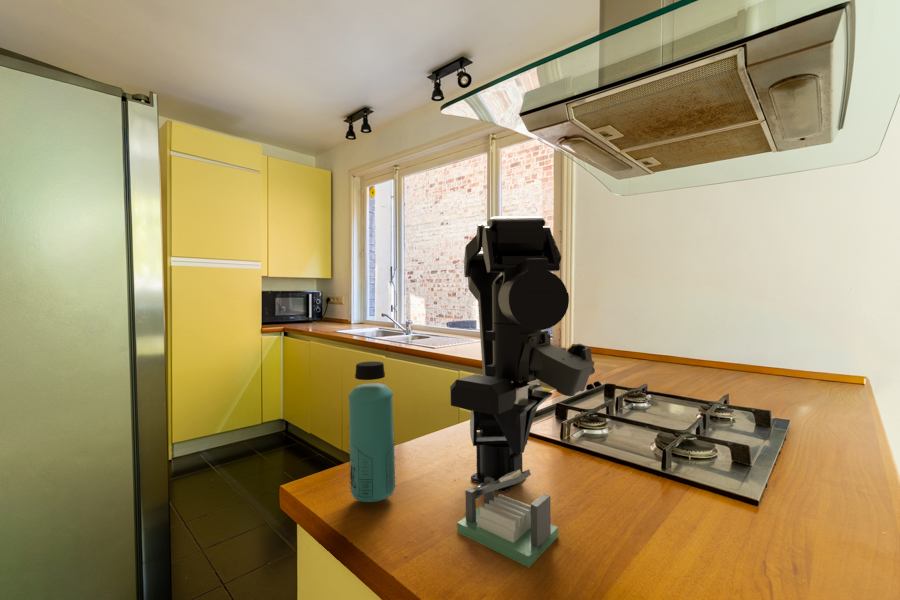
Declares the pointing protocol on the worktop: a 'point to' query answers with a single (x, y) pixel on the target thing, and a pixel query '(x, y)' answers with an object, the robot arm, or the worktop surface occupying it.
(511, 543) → the board
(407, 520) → the worktop surface
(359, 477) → the beverage bottle
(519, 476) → the strap
